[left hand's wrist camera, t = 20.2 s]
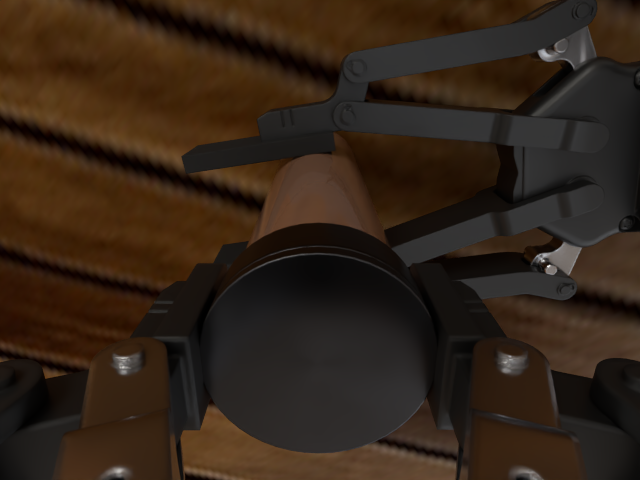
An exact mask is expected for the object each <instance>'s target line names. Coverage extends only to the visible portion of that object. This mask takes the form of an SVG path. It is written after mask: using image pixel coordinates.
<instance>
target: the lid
mask: <svg viewBox="0 0 640 480" xmlns="http://www.w3.org/2000/svg"><path fill="white" fill-rule="evenodd" d="M199 347H200V356H201V365H202V373H203V380H204V384H205V387H206V389H207V391H208V393H209V395H210V397H211V399H212V400H213V402H214V403H215V404H216V406H217V407H218V408H219V410H220V411H221V412H222V413H223V414H224V415H225V416H226V417H227V418H228V419H229V420H230V421H231V422H232V423H233V424H235V425H236V426H237V427H238V428H239V429H241V430H243V431H244V432H246V433H247V434H249V435H250V436H252V437H254V438H256V439H258V440H260V441H262V442H265V443H267V444H270V445H273V446H275V447H279V448H283V449H287V450H291V451H298V452H304V453H333V452H340V451H346V450H350V449H354V448H358V447H362V446H364V445H367V444H370V443H373V442H375V441H377V440H379V439H381V438H383V437H385V436H387V435H388V434H390V433H391V432H393V431H395V430H396V429H398V428H399V427H400V426H401V425H403V424H404V423H405V422H406V421H407V420H408V419H409V418H410V417H411V416H412V415H413V414H414V413H415V412H416V411H417V410H418V409H419V407H420V406H421V404H422V403H423V402H424V400H425V399H426V397H427V395H428V393H429V391H430V389H431V387H432V384H433V382H434V375H435V366H436V358H437V348H438V337H437V333H436V329H435V326H434V322H433V320H432V318H431V316H430V314H429V311H428V309H427V307H426V304H425V302H424V300H423V298H422V295H421V293H420V291H419V289H418V286H417V284H416V282H415V280H414V278H413V275H412V273H411V272H410V270H409V269H408V267H407V266H406V264H405V263H404V261H403V260H402V259H401V258H400V257H399V256H398V255H397V254H396V252H394V251H393V250H392V249H391V248H390V247H389V246H387V245H386V244H385V243H383V242H382V241H380V240H379V239H377V238H375V237H374V236H372V235H370V234H368V233H365V232H363V231H361V230H358V229H355V228H352V227H349V226H344V225H339V224H334V223H304V224H298V225H293V226H289V227H285V228H282V229H279V230H276V231H274V232H272V233H270V234H268V235H265V236H263V237H262V238H260V239H259V240H257V241H256V242H254V243H252V244H251V245H250V246H249V247H248V248H246V249H245V250H244V251H243V252H242V253H241V254H240V255H239V256H238V257H237V258H236V259H235V261H234V262H233V263H232V265H231V266H230V268H229V269H228V271H227V272H226V274H225V276H224V278H223V280H222V283H221V285H220V287H219V289H218V291H217V294H216V296H215V298H214V300H213V302H212V305H211V307H210V309H209V311H208V314H207V316H206V318H205V320H204V322H203V326H202V329H201V333H200V337H199Z"/></svg>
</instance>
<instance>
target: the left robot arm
mask: <svg viewBox="0 0 640 480" xmlns="http://www.w3.org/2000/svg"><path fill="white" fill-rule="evenodd" d="M227 271H228V268H227V265H226V264H225V263H198V264H197V265H196V266H195V268H194V269H193V271H192V273H191V274H190V276H189V278H188V279H187V281H177V282H175V283H173V284H172V285H170V286H169V287H167V288H166V289H164V290H163V291H162V292H161V294H160V295H159V296H158V298H157V299H156V301H155V304H153V305H152V306H151V308H150V309H149V313H147V314H146V315H145V317H144V318H143V319H142V321H141V322H140V324H139V325H138V327H137V328H136V330H135V331H134V332H133V334H132V335H131V337H130V338H129V339H125V340H122V341H118V342H116V343H113V344H111V345H109V346H107V347H106V348H104V349H103V350H101V351H100V352H99V353H98V354H97V355H96V356H95V357H94V358H93V360H92V362H91V364H90V369H88V370H85V371H82V372H77V373H73V374H68V375H63V376H58V377H53V378H48V379H45V376H44V373H43V369H42V367H41V365H40V364H39V363H37V362H35V361H32V360H26V359H17V360H9V361H4V362H0V480H185V474H184V463H183V453H182V446H181V440H180V437H181V434H182V432H183V430H200V428H201V425H202V422H203V419H204V416H205V413H206V410H207V407H208V404H209V401H210V395H209V393H208V391H207V389H206V387H205V384H204V380H203V373H202V365H201V356H200V347H199V337H200V333H201V329H202V326H203V322H204V320H205V318H206V316H207V314H208V311H209V309H210V307H211V305H212V302H213V300H214V298H215V296H216V294H217V291H218V289H219V287H220V285H221V283H222V280H223V278H224V276H225V274H226V272H227ZM410 272H411V273H412V275H413V278H414V280H415V282H416V284H417V286H418V289H419V291H420V293H421V295H422V298H423V300H424V302H425V304H426V307H427V309H428V311H429V314H430V316H431V318H432V320H433V322H434V326H435V329H436V333H437V337H438V348H437V358H436V366H435V375H434V382H433V384H432V387H431V389H430V391H429V393H428V395H427V399H428V402H429V405H430V409H431V412H432V415H433V418H434V421H435V424H436V427H437V429H454V431H455V434H456V437H457V440H458V442H459V446H458V453H457V463H456V474H455V480H640V362H639V361H635V360H630V359H623V358H610V359H605V360H603V361H601V362H599V363H598V364H597V366H596V369H595V373H594V376H593V379H592V378H587V377H582V376H577V375H572V374H567V373H562V372H558V371H554V370H551V369H550V364H549V362H548V360H547V358H546V357H545V356H544V355H543V354H542V353H541V352H540V351H539V350H537V349H536V348H534V347H533V346H531V345H529V344H527V343H524V342H522V341H518V340H515V339H511V338H507V336H506V335H505V334H504V332H503V331H502V329H501V328H500V326H499V325H498V323H497V322H496V320H495V319H494V317H493V316H492V315H491V313H489V310H488V309H487V307H486V306H485V304H484V303H482V300H481V298H480V297H479V296H478V294H477V293H476V291H475V290H474V289H472V288H471V287H469V286H468V285H466V284H465V283H463V282H462V281H451V280H450V278H449V276H448V275H447V273H446V272H445V270H444V268H443V267H442V265H441V264H440V263H412V264H411V267H410Z"/></svg>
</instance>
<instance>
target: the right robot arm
mask: <svg viewBox="0 0 640 480" xmlns="http://www.w3.org/2000/svg"><path fill="white" fill-rule="evenodd" d="M596 12H597V2H596V0H556V1H553V2H549V3H547V4H545V5H543V6H541V7H539V8H538V9H536V10H534V11H532V12H531V13H529V14H527V15H525V16H524V17H522V18H520V19H518V20H517V21H515V22H513V23H511V24H507V25H502V26H496V27H491V28H485V29H479V30H474V31H468V32H463V33H457V34H451V35H446V36H440V37H434V38H429V39H423V40H418V41H412V42H406V43H401V44H395V45H390V46H384V47H378V48H373V49H367V50H362V51H356V52H353V53H350V54H348V55H346V56H345V57H344V58H343V60H342V62H341V68H340V73H339V78H338V83H337V87H336V90H335V92H334V94H333V95H332V96H331V97H330V98H329V99H327V100H325V101H321V102H315V103H309V104H302V105H296V106H290V107H284V108H277V109H271V110H269V111H268V112H266V113H265V114H263V115H261V116H260V117H259V118H258V119H257V122H258V127H259V132H260V136H256V137H249V138H243V139H237V140H230V141H224V142H217V143H211V144H205V145H198V146H196V147H195V148H193V149H192V150H190V151H189V152H187V153H186V154H184V155H183V156H181V157H182V160H183V164H184V168H185V171H186V174H187V173H194V172H200V171H207V170H213V169H220V168H227V167H233V166H240V165H246V164H253V163H259V162H266V161H272V160H279V159H285V158H292V157H298V156H305V155H311V154H318V153H325V152H331V151H336V148H335V141H334V134H333V132H335V131H341V130H344V131H350V132H363V133H376V134H389V135H401V136H414V137H427V138H440V139H453V140H466V141H478V142H490V143H496V144H497V151H498V155H499V158H500V161H501V166H500V169H499V173H498V177H497V185H495V186H492V187H490V188H487V189H484V190H482V191H479V192H478V193H477V194H476V195H475V196H474V197H473V198H470V199H468V200H465V201H462V202H459V203H457V204H454V205H451V206H449V207H446V208H443V209H440V210H438V211H435V212H432V213H429V214H427V215H424V216H421V217H419V218H416V219H413V220H410V221H408V222H405V223H402V224H400V225H397V226H394V227H391V228H389V229H386V230H384V232H385V234H386V237H387V240H388V242H389V245H390V247H391V249H392V250H393V251H394V252H396V254H397V255H398V256H399V257H400V258H401V259H402V260H403V261H404V263H405V264H406V266H407V267H408V269H409V270H410V267H411V264H412V263H440V264H441V265H442V267H443V268H444V270H445V272H446V273H447V275H448V276H449V278H450V280H451V281H462V282H463V283H465V284H466V285H468V286H469V287H471V288H472V289H474V290H475V291H476V293H477V294H478V296H479V297H480V298H481V299H487V298H495V297H503V296H511V295H520V294H532V295H537V296H542V297H547V298H552V299H557V300H565V299H568V298H570V297H572V296H573V295H574V294H575V292H576V290H577V284H576V282H575V281H574V280H573V279H572V278H571V277H570V276H569V274H570V272H571V270H572V268H573V266H574V263H575V261H576V259H577V257H578V255H579V253H580V251H581V249H582V248H583V247H589V246H593V245H595V244H597V243H598V242H600V241H602V240H603V239H605V238H607V237H609V236H611V235H614V234H617V233H622V232H640V61H637V62H631V63H624V64H623V63H619V62H617V61H615V60H613V59H610V58H607V57H597V55H596V52H595V49H594V45H593V42H592V39H591V35H590V32H589V29H588V26H587V25H588V24H589V23H591V22H592V20H593V19H594V17H595V15H596ZM525 54H529V56H530V57H531V59H533V60H534V61H536V62H553V61H557V62H558V63H559V64H560V65H561V67H562V68H561V69H560V70H559V71H558V72H557V73H556V74H555V75H554V76H552V77H551V78H550V79H549V80H548V81H547V82H546V83H544V84H543V85H542V86H541V87H540V88H539V89H538V90H537V91H535V92H534V93H533V94H532V95H531V96H530V97H529V98H527V99H526V100H525V101H524V102H523V103H522V104H521V105H520V106H518V107H517V108H516V109H515V110H508V109H496V108H475V107H462V106H450V105H437V104H425V103H412V102H400V101H387V100H375V99H365V97H366V92H367V88H368V83H369V82H372V81H377V80H383V79H389V78H395V77H400V76H406V75H412V74H418V73H423V72H429V71H435V70H441V69H446V68H452V67H458V66H464V65H469V64H475V63H481V62H487V61H492V60H498V59H504V58H510V57H516V56H521V55H525ZM533 228H538V229H540V230H542V231H544V232H545V233H547V234H549V235H551V236H553V239H552V240H551V241H550V242H549V243H547V244H545V245H539V246H527V247H526V248H525V249H524V253H518V252H500V253H491V254H483V255H476V256H468V257H460V258H452V259H444V260H436V261H429V262H423V261H426V260H429V259H432V258H435V257H438V256H440V255H443V254H446V253H449V252H452V251H455V250H457V249H460V248H463V247H466V246H469V245H472V244H474V243H477V242H480V241H483V240H486V239H489V238H491V237H494V236H512V235H516V234H519V233H521V232H524V231H527V230H530V229H533ZM248 242H249V241H247V242H240V243H233V244H226V245H223V246H222V248H221V250H220V252H219V254H218V255H217V257H216V259H215V261H214V263H225V264H226V265H227V268H228V269H229V268H230V266H231V265H232V263H233V262H234V261H235V259H236V258H237V257H238V256H239V255H240V254H241V253H242V252H243V251H244V250H245V249H246V247H247V245H248Z"/></svg>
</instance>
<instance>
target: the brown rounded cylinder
mask: <svg viewBox="0 0 640 480" xmlns="http://www.w3.org/2000/svg"><path fill="white" fill-rule="evenodd" d="M333 134H334V141H335V148H336V151H331V152H325V153H318V154H311V155H305V156H298V157H292V158H285V159H281V162H280V164H279V167H278V169H277V172H276V174H275V177H274V179H273V182H272V184H271V187H270V189H269V192H268V194H267V197H266V199H265V202H264V205H263V207H262V210H261V212H260V215H259V217H258V220H257V222H256V225H255V227H254V230H253V232H252V235H251V237H250V240H249V242H248V245H247V247H246V248H248V247H249V246H250V245H251V244H252V243H254V242H256V241H257V240H259V239H260V238H262V237H263V236H265V235H268V234H270V233H272V232H274V231H276V230H279V229H282V228H285V227H289V226H293V225H298V224H304V223H334V224H339V225H344V226H349V227H352V228H355V229H358V230H361V231H363V232H365V233H368V234H370V235H372V236H374V237H375V238H377V239H379V240H380V241H382V242H383V243H385V244H386V245H387V246H389V247H390V245H389V242H388V240H387V237H386V234H385V232H384V229H383V227H382V224H381V222H380V219H379V217H378V214H377V212H376V209H375V207H374V204H373V202H372V199H371V197H370V194H369V192H368V189H367V186H366V184H365V181H364V179H363V176H362V174H361V171H360V169H359V166H358V164H357V161H356V159H355V156H354V154H353V151H352V149H351V147H350V146H349V144H348V143H347V142H346V141H345V140H344V139H343V138H342V137H341V136H340V135H338V134H336V133H334V132H333ZM390 248H391V247H390Z"/></svg>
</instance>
